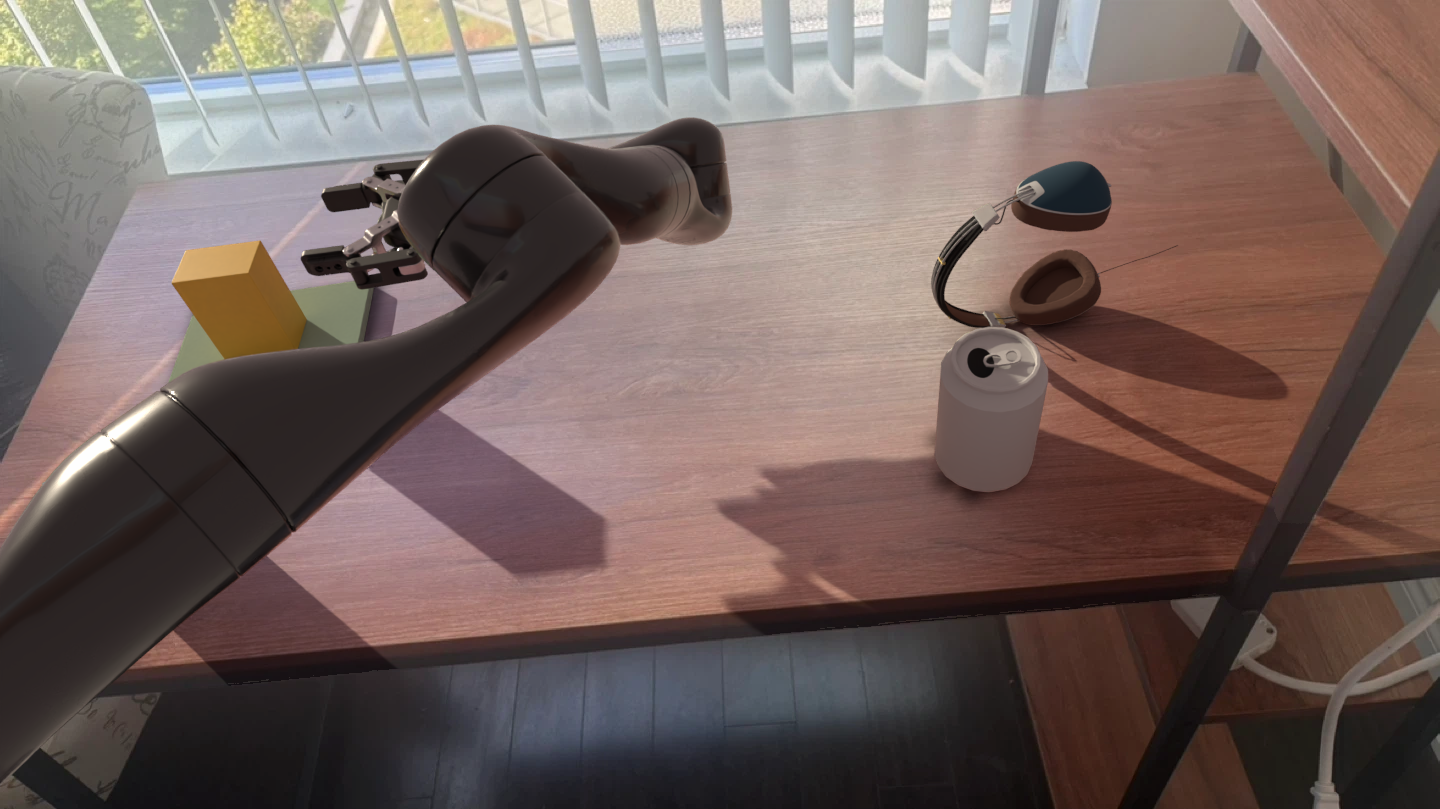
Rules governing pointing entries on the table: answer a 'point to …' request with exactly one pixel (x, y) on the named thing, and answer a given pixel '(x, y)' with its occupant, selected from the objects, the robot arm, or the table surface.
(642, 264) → the table surface
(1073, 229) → the headphones
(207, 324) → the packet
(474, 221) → the robot arm
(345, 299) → the mat
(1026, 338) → the can
